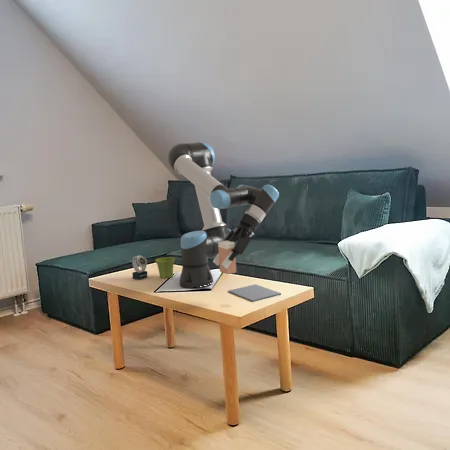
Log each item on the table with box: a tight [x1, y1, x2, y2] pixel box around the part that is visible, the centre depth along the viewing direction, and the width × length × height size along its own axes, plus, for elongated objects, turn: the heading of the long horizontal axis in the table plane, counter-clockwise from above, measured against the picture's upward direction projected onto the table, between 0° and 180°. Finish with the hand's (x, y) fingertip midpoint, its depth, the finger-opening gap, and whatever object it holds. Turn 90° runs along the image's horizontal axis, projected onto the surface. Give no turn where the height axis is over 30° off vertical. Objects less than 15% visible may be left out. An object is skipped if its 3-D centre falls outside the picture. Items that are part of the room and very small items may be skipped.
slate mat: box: [228, 283, 282, 303], centre depth 207 cm, size 18×14×1 cm
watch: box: [131, 254, 148, 281], centre depth 242 cm, size 6×8×11 cm
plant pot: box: [154, 256, 176, 279], centre depth 242 cm, size 9×9×9 cm
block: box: [218, 240, 237, 275], centre depth 197 cm, size 6×4×12 cm, turn 32°
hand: (219, 265), depth 196 cm, fingers closed on block, 6 cm apart
